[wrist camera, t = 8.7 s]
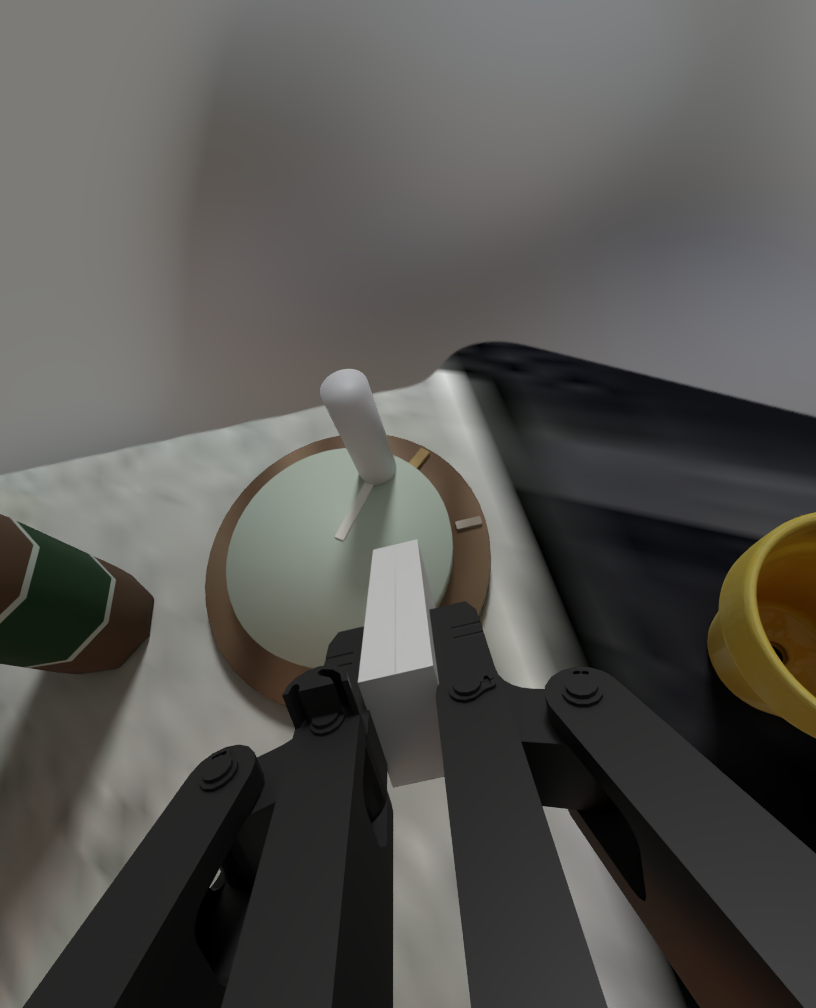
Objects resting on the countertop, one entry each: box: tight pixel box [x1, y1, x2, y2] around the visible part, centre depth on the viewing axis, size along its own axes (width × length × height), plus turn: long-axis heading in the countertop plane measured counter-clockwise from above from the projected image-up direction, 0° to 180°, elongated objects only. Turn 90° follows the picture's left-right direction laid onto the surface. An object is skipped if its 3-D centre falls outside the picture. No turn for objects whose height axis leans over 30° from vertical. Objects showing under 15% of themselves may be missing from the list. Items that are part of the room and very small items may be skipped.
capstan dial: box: [226, 369, 454, 669], centre depth 29 cm, size 16×16×11 cm
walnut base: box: [205, 435, 491, 705], centre depth 34 cm, size 21×21×2 cm
